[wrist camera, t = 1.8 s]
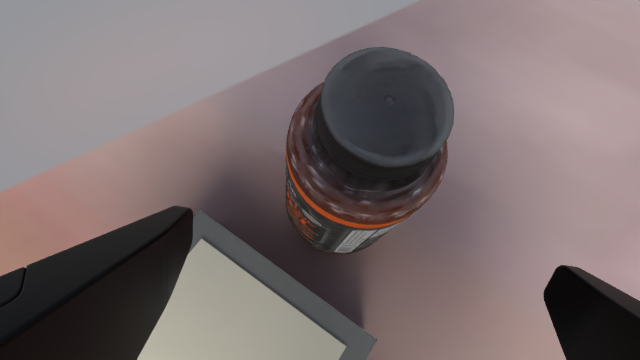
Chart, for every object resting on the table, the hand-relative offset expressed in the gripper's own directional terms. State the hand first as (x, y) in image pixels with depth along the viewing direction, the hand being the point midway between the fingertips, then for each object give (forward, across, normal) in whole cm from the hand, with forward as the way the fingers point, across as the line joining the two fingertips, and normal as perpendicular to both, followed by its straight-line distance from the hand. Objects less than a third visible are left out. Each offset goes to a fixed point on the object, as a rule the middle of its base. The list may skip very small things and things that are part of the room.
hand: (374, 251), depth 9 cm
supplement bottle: (+11, 0, +5) cm, 12 cm away
